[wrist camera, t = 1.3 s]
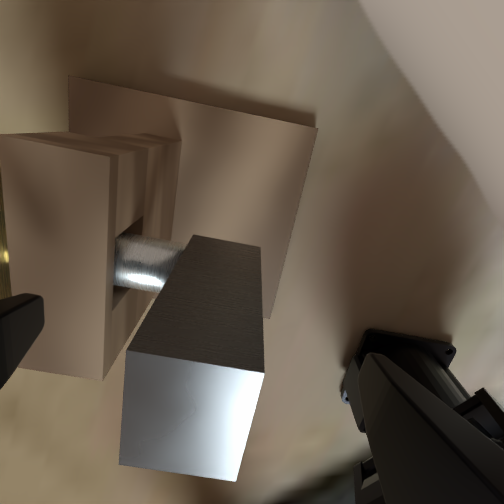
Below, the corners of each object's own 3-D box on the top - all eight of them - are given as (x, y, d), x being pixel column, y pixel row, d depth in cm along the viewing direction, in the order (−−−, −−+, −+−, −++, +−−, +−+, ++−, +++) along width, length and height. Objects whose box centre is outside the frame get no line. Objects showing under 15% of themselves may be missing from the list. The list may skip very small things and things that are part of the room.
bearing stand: (315, 128, 18) (379, 133, 9) (269, 312, 22) (278, 447, 13) (76, 77, 17) (-138, 22, 8) (77, 278, 21) (-60, 396, 12)
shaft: (260, 237, 13) (264, 373, 6) (246, 302, 14) (235, 481, 7) (-3, 188, 12) (-343, 272, 5) (4, 259, 13) (-272, 407, 6)
